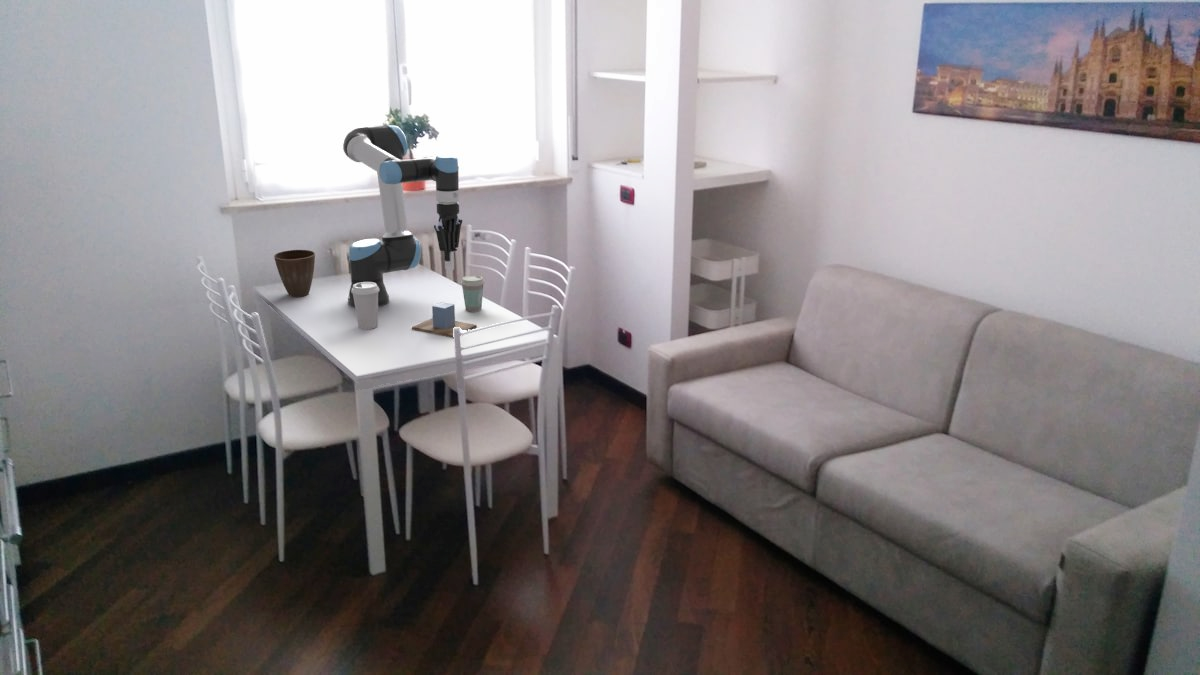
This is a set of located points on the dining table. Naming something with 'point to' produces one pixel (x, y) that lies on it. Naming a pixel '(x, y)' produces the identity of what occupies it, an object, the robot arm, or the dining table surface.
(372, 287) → the coffee cup
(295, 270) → the plant pot
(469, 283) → the coffee cup
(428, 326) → the post board
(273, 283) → the dining table surface
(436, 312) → the slate blue box
